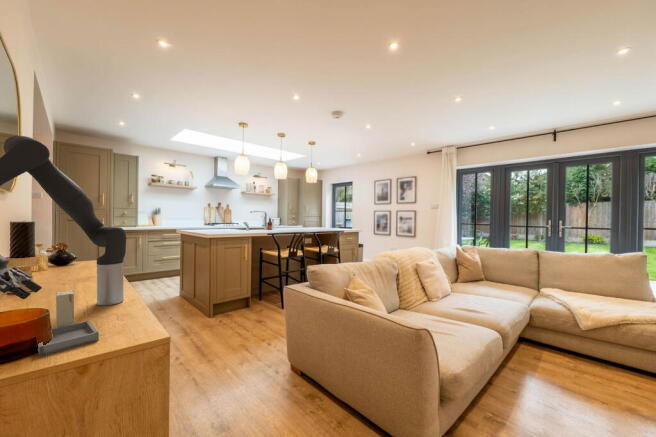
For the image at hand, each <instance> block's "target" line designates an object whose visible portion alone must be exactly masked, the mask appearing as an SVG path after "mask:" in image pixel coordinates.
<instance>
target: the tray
mask: <svg viewBox="0 0 656 437" xmlns="http://www.w3.org/2000/svg"><path fill="white" fill-rule="evenodd" d="M50 329H51V330H52V334H53V338H52V340H51V341H50V342H49V343H47V344H46V345H43V342H41V343H39V344H38V349H37V352H38V355H39V357H42V356H46V355H49V354H54V353H57V352H60V351H61V352H62V351H65V350H67V349H71V348H76V347H80V346H85V345H87V344H91V343H94V342H97V341H99V337H100V336H99V331H98V330H97V328H96V327H95V326H94V325H93V324H92V323H91V321H90V320H89V319H88V320H83V321H80V322H76V323H75V322H74V324H70V325H66V326H61V327H57V328H56V327H53V328H50Z"/></svg>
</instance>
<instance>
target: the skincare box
mask: <svg viewBox="0 0 656 437" xmlns="http://www.w3.org/2000/svg"><path fill="white" fill-rule="evenodd" d="M55 298H56V300H55V306H56V307H55V313H56V315H55V318H56V325H55V326H56V327H55V328H57V327H61V326H66V325H70V324H75V292H74V290H67V291H59V292H56V294H55Z"/></svg>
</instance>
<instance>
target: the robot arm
mask: <svg viewBox="0 0 656 437" xmlns="http://www.w3.org/2000/svg"><path fill="white" fill-rule="evenodd" d="M3 150H4V154H3V155H2V156H1V157H0V187H1V186H3V185H4V184H6V183H8V182H10V181H11V180H13V179H15V178H17V177H18V176H21V175H23V174H25V173H28V174H29V176H31V177H32V178H33V179H34V180H35V181H36V182H37V183H38V184H39V186H41V188H42V189H43V191H45V193H46V194H47V195H48V196H49V197H50V199H52V201H53V202H54V203H55V204H56V205H57V206H58V207H59V208H60V210H62V211H63V212H65V213H66V215H68V216H69V217H70V218H71V219H72V220H73V221H74V222H75V223H76V224H77V225H78V226H79V227H80V228H81V229H82V231H83V232H84V233H85V235H86V236H87V237H88V238H89V240H90V241H91V242H92V243H93V244H94V246H96V247H100V248H104V253H103V254H102V255H100V256H98V257H97V258H96V305H97V306H111V305H116V304H120V303H122V302H123V301H124V292H125V291H124V290H125V289H124V288H125V287H124V286H125V285H124V282H125V281H124V277H125V276H124V271H125V270H124V259H125V257H126V253H127V252H126V251H127V250H126V249H127V233H126V231H125V229H123V228H122V227H120V226H108V225H105V224H104V223H103V222H102V221H100V219H99V218H98V217H97V216H96V213H95V208H94V204H93V202H92V199H91V197H89V195H87V193H86V192H85V191H84V190H83V189H82V188H81V186H79V184H77V183H76V182H75V181H74V180H72V179H71V178H70V177H69V176H68V175H67V174H65V173H64V172H63V171H61V170H60V169H59V168H58V167H57V166H56V165H55V164H54V163H53V162H52V161H51V159H50V155H51V154H50V149H49V147H48V146H47V145H46V144H45V143H44V142H42V141H40V140H38V139H36V138H33V137H30V136H26V135H12V136H10V137H8V138H6V139H5V140H4V143H3ZM9 264H10V260H9V259H8V258H6V257H4V256H2V255H1V254H0V292H1V293H3V294H6V293H8V294H13V295H15V296H16V297H18V298H20V299H22V300H26V299H27V298H28V297H30V296H31V294H32V293H31V291H32V292H33V293H38V292H39V291H41V290H42V289H43V287H42V286H41V285H40V284H38V283H36V282H35V281H33V276H32V275H30V274H28V273H27V272H25V271H23V270H22V269H20V268H18V267H17V266H13V267H11V268H9V267H8V266H7V265H9ZM19 285H21V286H19ZM22 286H24V287H25V288H26V289H25V288H24V287H22ZM27 289H28V290H30V291H28V290H27Z"/></svg>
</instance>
